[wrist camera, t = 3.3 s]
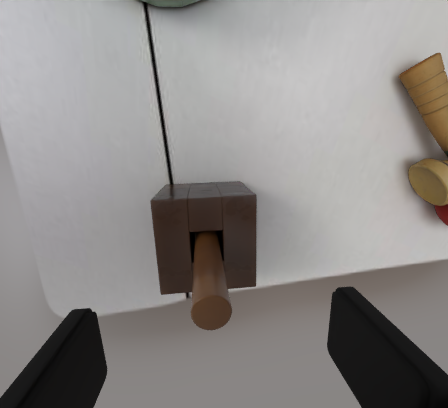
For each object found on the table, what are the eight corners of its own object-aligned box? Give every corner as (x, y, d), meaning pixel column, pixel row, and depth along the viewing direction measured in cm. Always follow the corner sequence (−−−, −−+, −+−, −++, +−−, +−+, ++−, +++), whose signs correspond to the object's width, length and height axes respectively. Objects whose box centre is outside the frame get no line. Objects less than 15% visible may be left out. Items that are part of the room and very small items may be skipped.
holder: (171, 253, 24) (160, 295, 17) (165, 184, 22) (150, 200, 15) (241, 248, 25) (256, 286, 18) (240, 181, 23) (256, 194, 16)
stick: (196, 227, 24) (192, 333, 10) (195, 210, 23) (189, 297, 10) (214, 226, 24) (232, 328, 10) (213, 209, 23) (231, 293, 10)
